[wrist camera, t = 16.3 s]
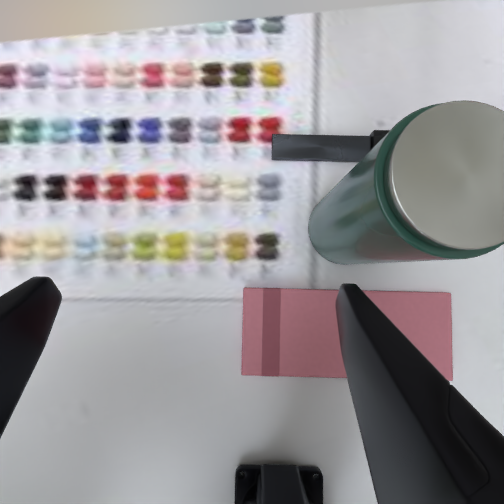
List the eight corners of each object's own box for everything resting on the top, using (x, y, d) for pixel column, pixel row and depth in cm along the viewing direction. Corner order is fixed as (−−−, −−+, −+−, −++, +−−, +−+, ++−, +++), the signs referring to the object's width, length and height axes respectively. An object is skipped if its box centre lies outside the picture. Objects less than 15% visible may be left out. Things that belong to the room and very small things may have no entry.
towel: (447, 378, 22) (453, 381, 21) (241, 372, 22) (241, 375, 21) (446, 292, 22) (451, 292, 22) (243, 287, 22) (243, 287, 22)
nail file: (419, 166, 23) (425, 163, 22) (271, 163, 23) (272, 159, 22) (418, 135, 23) (424, 130, 22) (272, 132, 23) (272, 127, 22)
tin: (380, 265, 22) (556, 260, 9) (307, 263, 22) (382, 256, 9) (380, 193, 23) (549, 93, 10) (308, 192, 23) (381, 89, 10)
